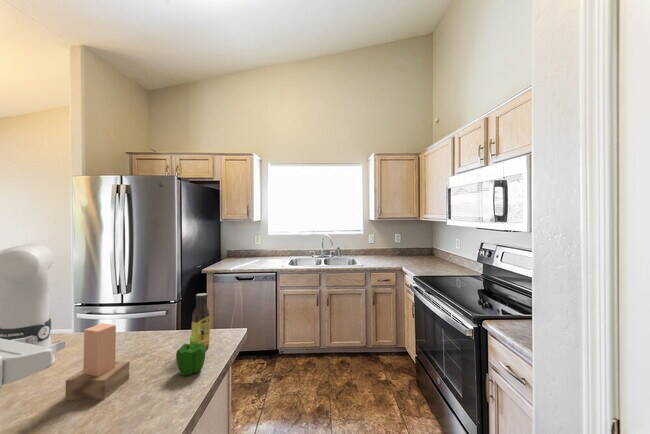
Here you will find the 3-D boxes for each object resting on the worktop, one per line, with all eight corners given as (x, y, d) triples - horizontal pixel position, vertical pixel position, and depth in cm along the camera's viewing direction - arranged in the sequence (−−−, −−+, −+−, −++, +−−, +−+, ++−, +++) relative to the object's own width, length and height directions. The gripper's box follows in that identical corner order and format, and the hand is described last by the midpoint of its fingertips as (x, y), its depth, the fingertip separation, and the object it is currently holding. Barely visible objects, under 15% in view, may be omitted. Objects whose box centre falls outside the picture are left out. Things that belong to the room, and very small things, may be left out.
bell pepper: (200, 378, 86) (200, 344, 86) (171, 379, 85) (172, 345, 86) (209, 364, 94) (209, 333, 95) (183, 365, 94) (183, 334, 94)
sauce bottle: (202, 353, 102) (203, 297, 103) (187, 351, 103) (187, 296, 104) (213, 345, 109) (213, 292, 109) (198, 344, 110) (198, 291, 110)
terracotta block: (96, 376, 77) (97, 331, 78) (83, 373, 79) (84, 329, 79) (115, 367, 82) (115, 325, 82) (102, 365, 84) (102, 323, 84)
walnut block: (65, 399, 75) (65, 380, 75) (94, 379, 85) (95, 361, 85) (104, 399, 76) (104, 380, 76) (129, 378, 86) (129, 361, 86)
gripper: (-69, 378, 58) (20, 349, 72) (-5, 396, 53) (79, 360, 66) (-68, 346, 58) (20, 323, 72) (-4, 361, 53) (79, 333, 66)
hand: (49, 341), depth 69 cm, fingers open, 8 cm apart
